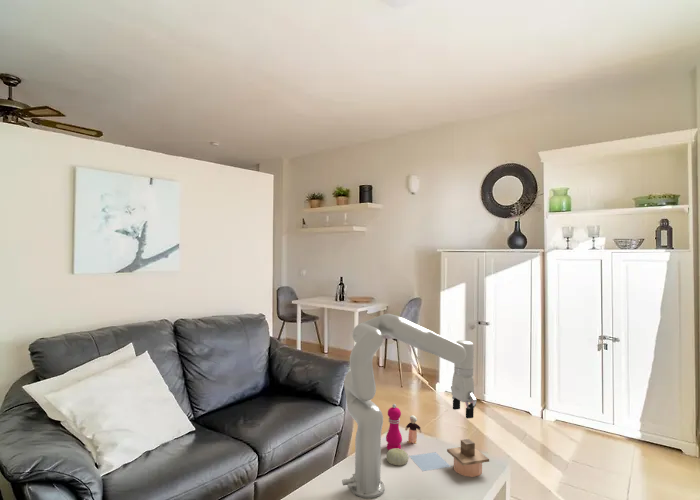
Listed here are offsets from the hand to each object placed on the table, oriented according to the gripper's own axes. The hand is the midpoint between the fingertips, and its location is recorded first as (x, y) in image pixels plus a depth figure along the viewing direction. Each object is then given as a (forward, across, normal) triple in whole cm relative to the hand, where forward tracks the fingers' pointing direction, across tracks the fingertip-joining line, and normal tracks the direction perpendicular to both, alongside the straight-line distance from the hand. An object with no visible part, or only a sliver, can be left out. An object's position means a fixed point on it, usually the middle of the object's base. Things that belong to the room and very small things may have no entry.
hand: (462, 413), depth 164 cm
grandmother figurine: (+23, -28, -9) cm, 37 cm away
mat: (+23, -9, -10) cm, 27 cm away
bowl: (+23, 0, +2) cm, 23 cm away
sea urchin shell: (+24, -13, -23) cm, 35 cm away
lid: (+17, 0, +2) cm, 17 cm away
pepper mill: (+23, -24, -20) cm, 39 cm away
